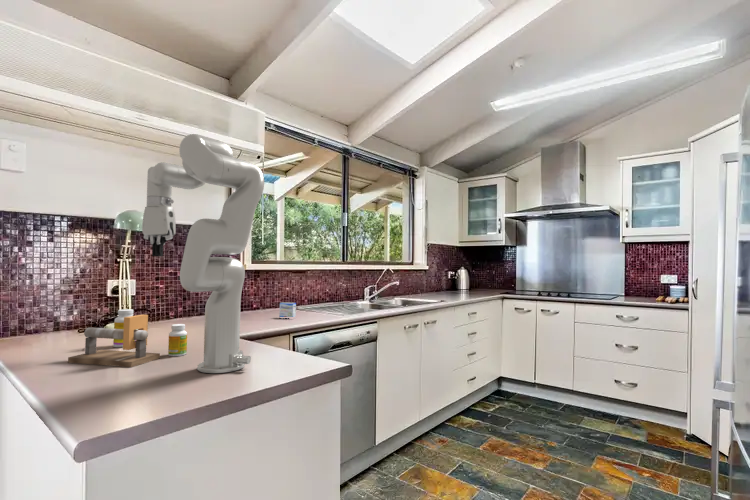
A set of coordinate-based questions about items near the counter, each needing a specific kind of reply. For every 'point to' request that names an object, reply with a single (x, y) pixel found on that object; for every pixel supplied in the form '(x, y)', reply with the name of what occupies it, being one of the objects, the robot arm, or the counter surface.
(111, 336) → the pipe stand
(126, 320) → the rubber collar
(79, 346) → the counter surface
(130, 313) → the supplement bottle
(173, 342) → the supplement bottle
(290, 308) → the medicine box
